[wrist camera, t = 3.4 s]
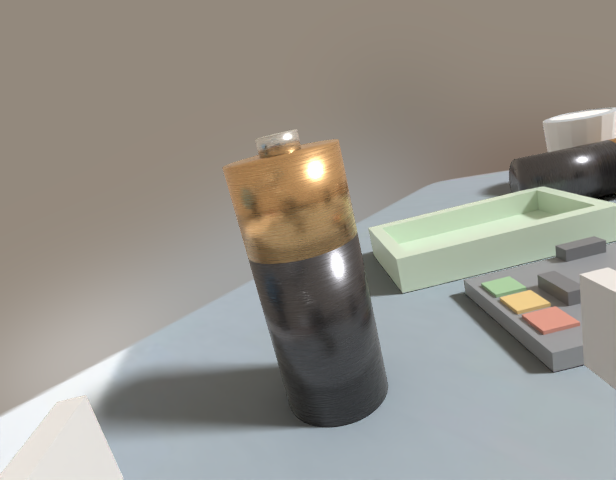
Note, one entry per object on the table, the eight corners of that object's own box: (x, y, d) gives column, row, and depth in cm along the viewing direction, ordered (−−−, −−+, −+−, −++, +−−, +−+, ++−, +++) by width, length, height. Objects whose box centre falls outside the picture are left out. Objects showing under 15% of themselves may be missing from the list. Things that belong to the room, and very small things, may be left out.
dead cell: (531, 216, 38) (527, 162, 37) (511, 204, 43) (507, 156, 42) (687, 187, 36) (689, 129, 35) (648, 178, 41) (648, 126, 40)
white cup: (534, 181, 49) (529, 121, 47) (593, 168, 49) (591, 106, 47) (569, 191, 43) (566, 122, 41) (638, 176, 42) (638, 105, 40)
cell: (282, 433, 19) (200, 153, 15) (295, 367, 24) (234, 142, 20) (392, 419, 18) (332, 122, 15) (383, 355, 23) (336, 118, 19)
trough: (402, 293, 30) (396, 259, 29) (373, 254, 38) (368, 228, 37) (621, 239, 30) (620, 204, 29) (543, 213, 38) (541, 185, 38)
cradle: (553, 372, 19) (551, 337, 18) (465, 293, 27) (462, 268, 27) (810, 308, 19) (814, 271, 18) (641, 250, 28) (641, 224, 27)
